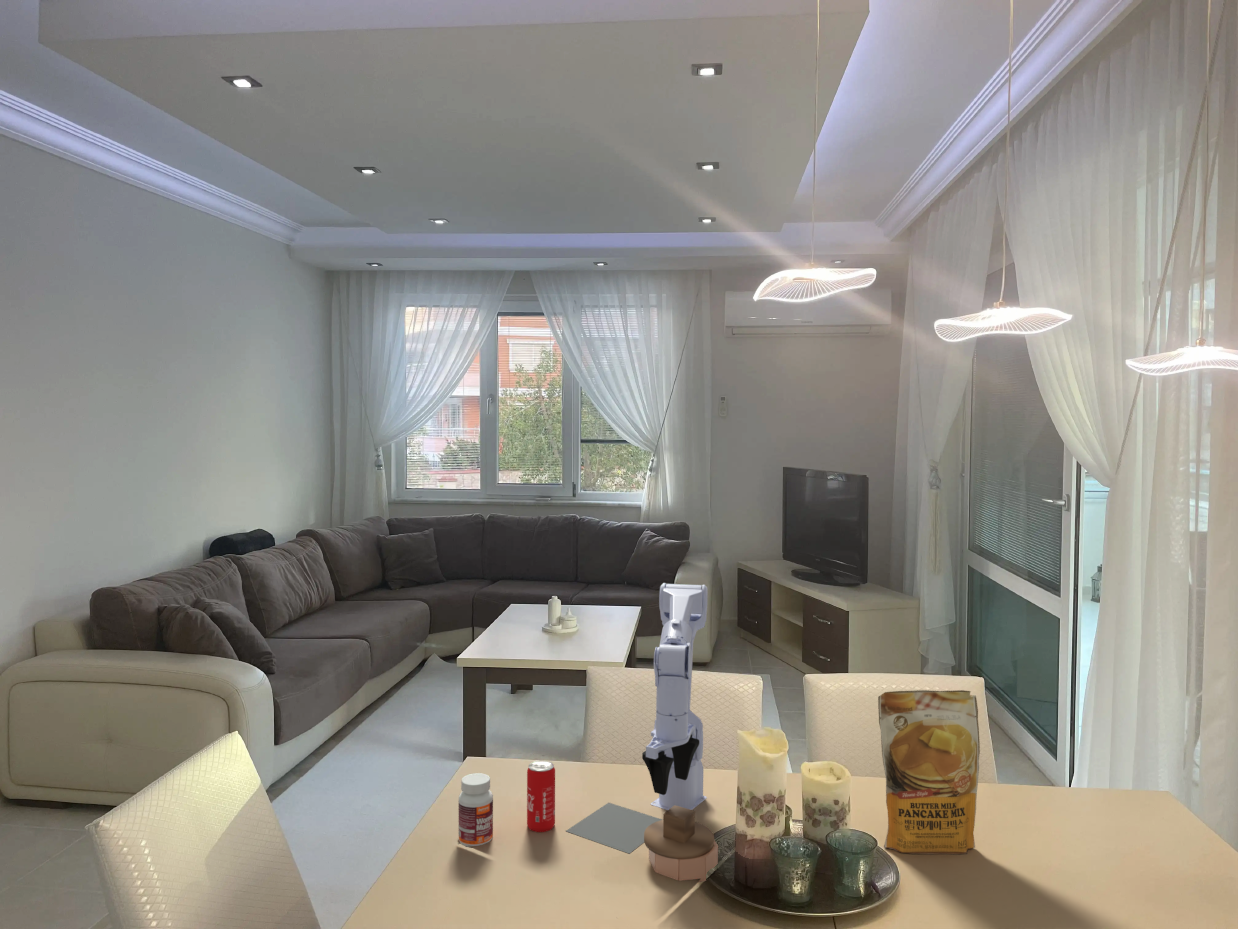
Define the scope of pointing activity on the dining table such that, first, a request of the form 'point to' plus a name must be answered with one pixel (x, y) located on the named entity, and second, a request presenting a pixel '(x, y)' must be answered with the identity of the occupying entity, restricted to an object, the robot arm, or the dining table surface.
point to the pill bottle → (475, 810)
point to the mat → (614, 827)
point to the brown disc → (679, 835)
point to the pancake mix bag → (930, 769)
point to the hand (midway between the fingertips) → (670, 785)
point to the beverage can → (541, 796)
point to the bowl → (685, 865)
